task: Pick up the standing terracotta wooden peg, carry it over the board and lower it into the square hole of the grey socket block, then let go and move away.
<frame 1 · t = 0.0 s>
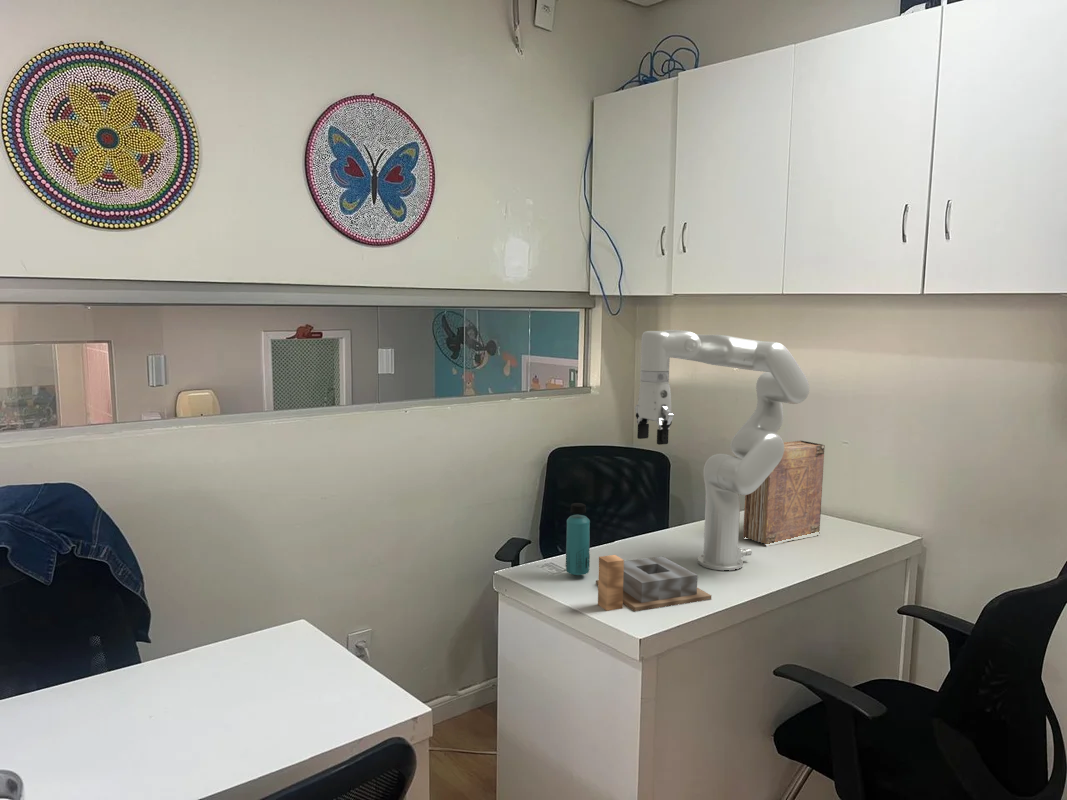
hand: (652, 441, 208), 37 cm above the table, tool pointing down, fingers open, 9 cm apart
book: (781, 538, 249), on the table
peg: (610, 606, 189), on the table
socket board: (652, 591, 199), on the table
beverage bottle: (577, 577, 210), on the table
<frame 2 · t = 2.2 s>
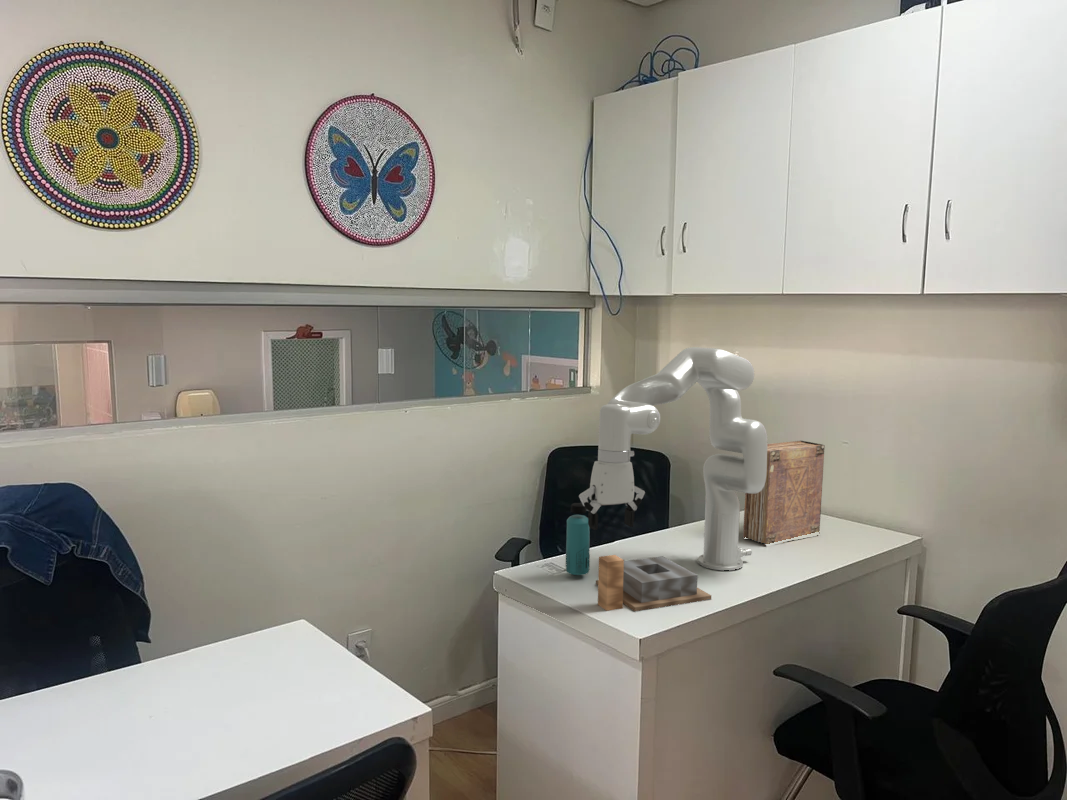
hand: (611, 527, 186), 20 cm above the table, tool pointing down, fingers open, 9 cm apart
nothing on the table moved.
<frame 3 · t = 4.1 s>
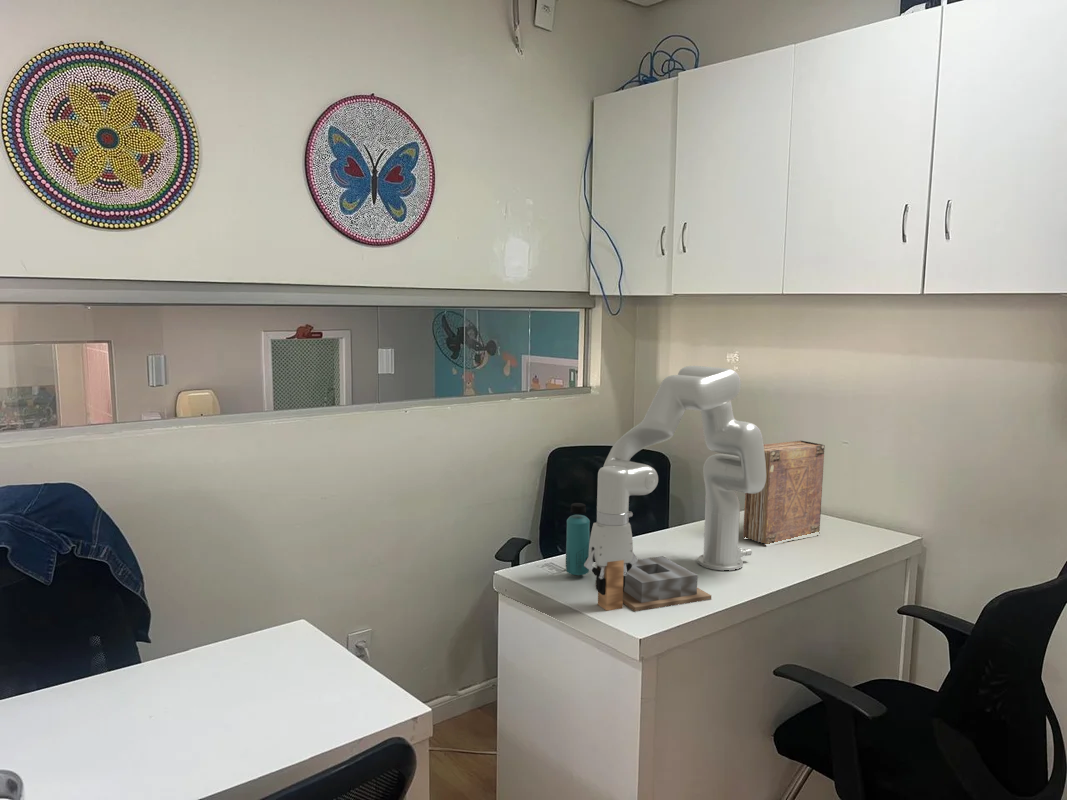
hand: (610, 590, 188), 4 cm above the table, tool pointing down, fingers closed on peg, 4 cm apart
peg: (610, 606, 189), on the table, touching gripper
everything else where it was.
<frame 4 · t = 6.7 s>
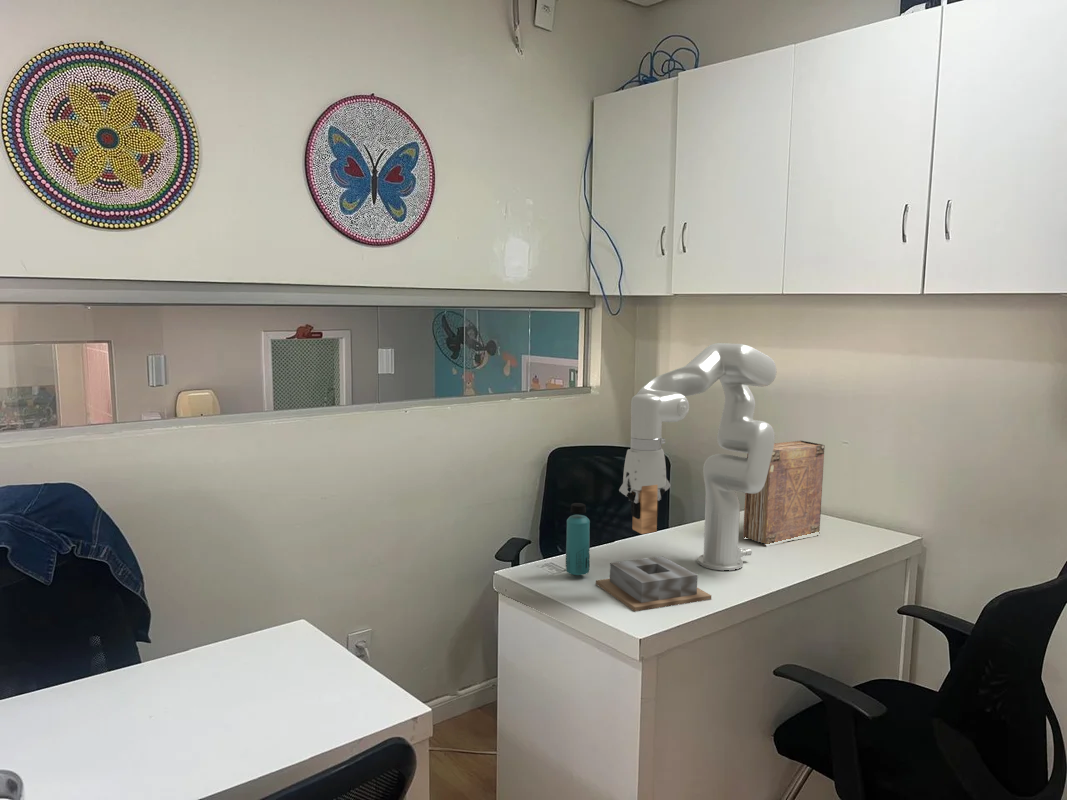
hand: (644, 515, 194), 21 cm above the table, tool pointing down, fingers closed on peg, 4 cm apart
peg: (644, 530, 195), point 17 cm above the table, touching gripper
everything else where it was.
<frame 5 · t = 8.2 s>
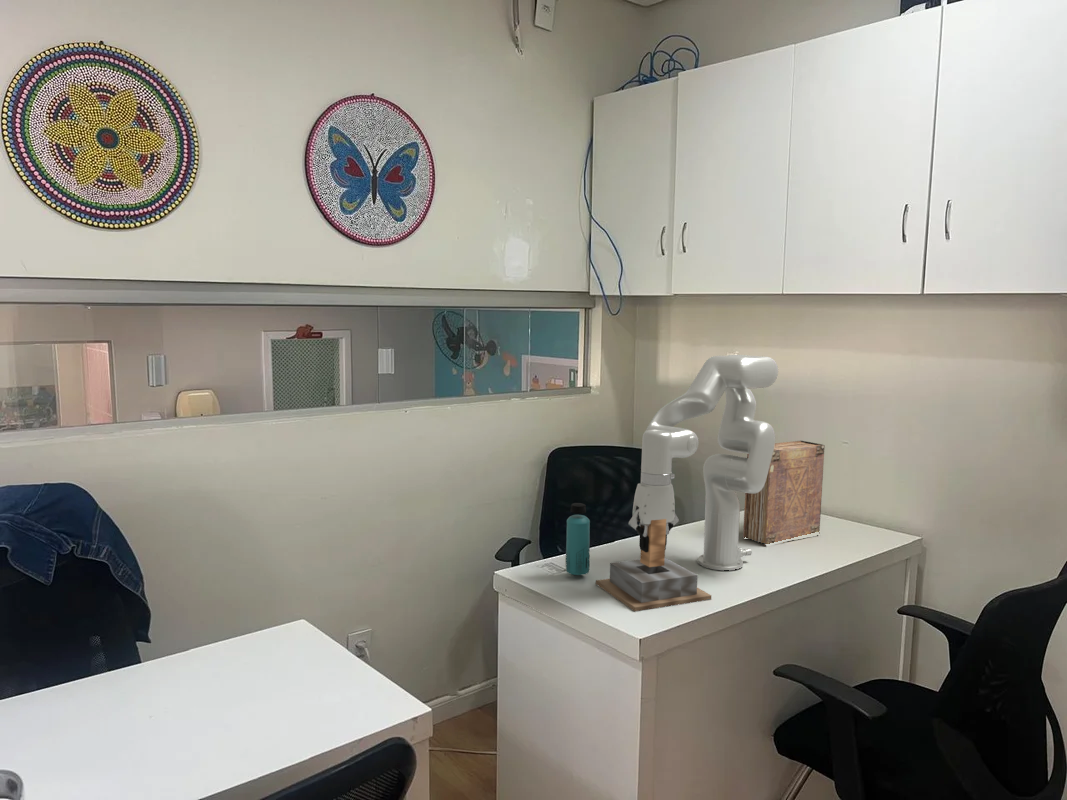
hand: (652, 549, 198), 11 cm above the table, tool pointing down, fingers closed on peg, 4 cm apart
peg: (652, 563, 198), point 7 cm above the table, touching gripper
everything else where it was.
when the fingers open (6 cm above the table, at t = 9.5 s): peg drops 1 cm, resting on socket board.
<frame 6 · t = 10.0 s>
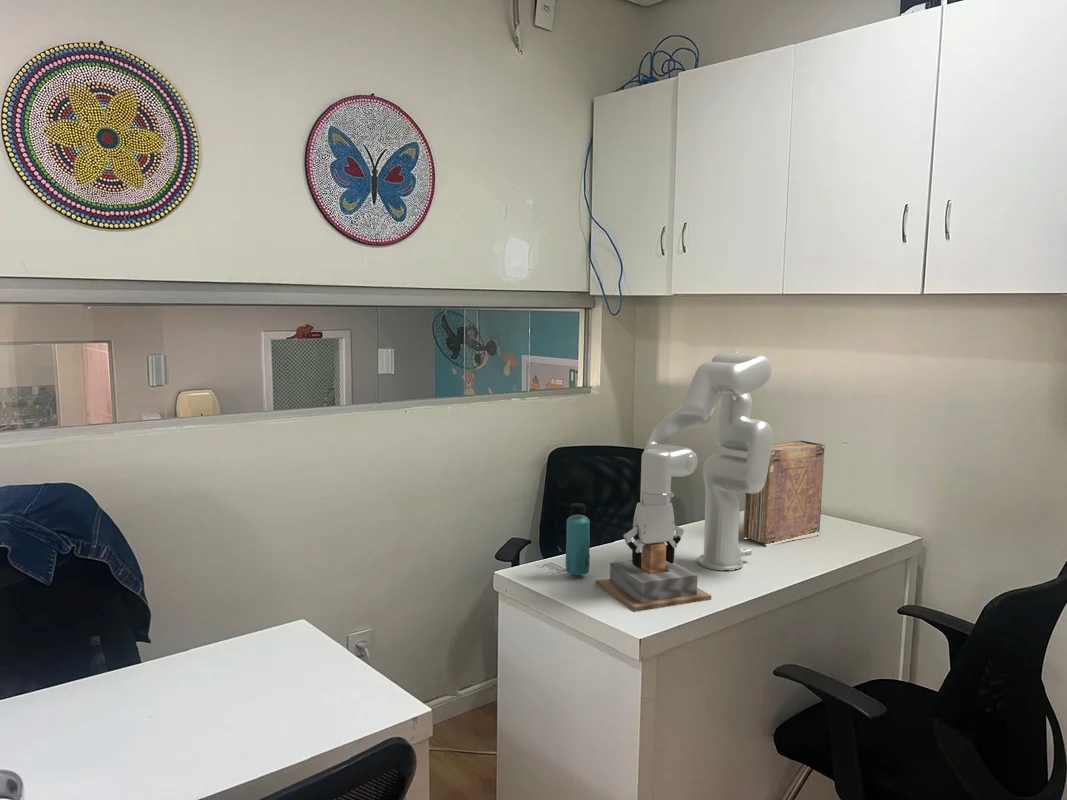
hand: (653, 564, 198), 7 cm above the table, tool pointing down, fingers open, 9 cm apart
peg: (652, 587, 199), point 1 cm above the table, touching socket board
everything else where it was.
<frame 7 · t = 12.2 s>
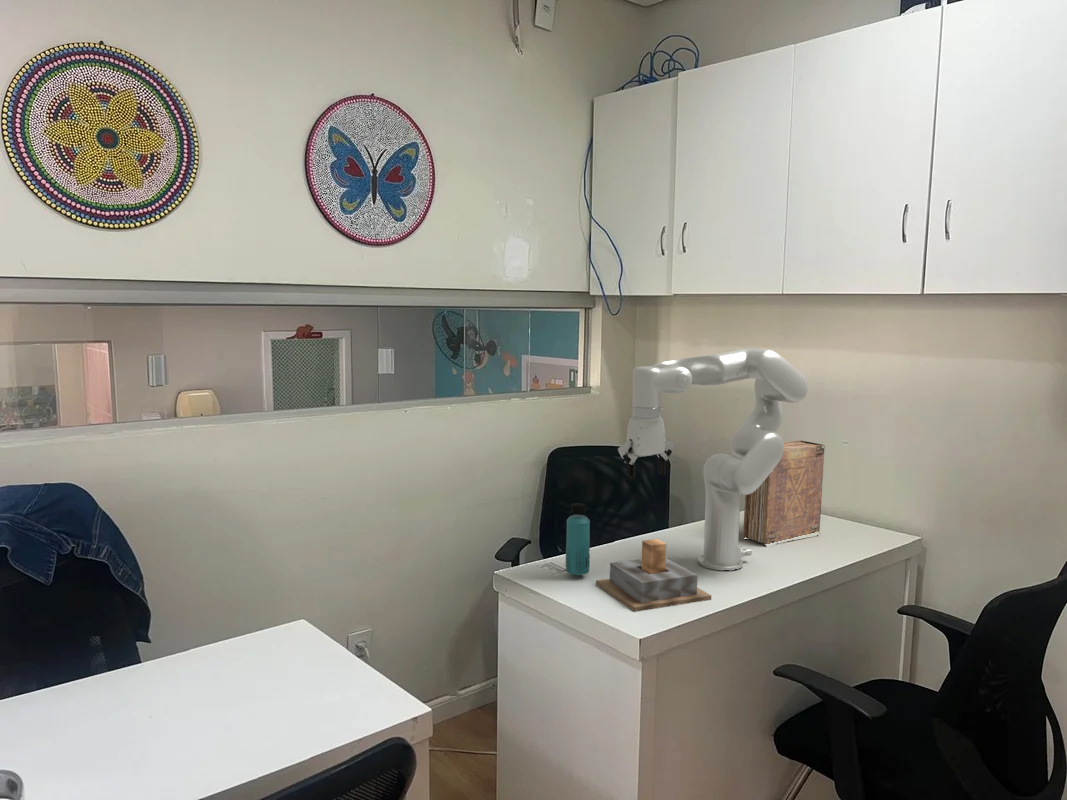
hand: (646, 476, 208), 27 cm above the table, tool pointing down, fingers open, 9 cm apart
nothing on the table moved.
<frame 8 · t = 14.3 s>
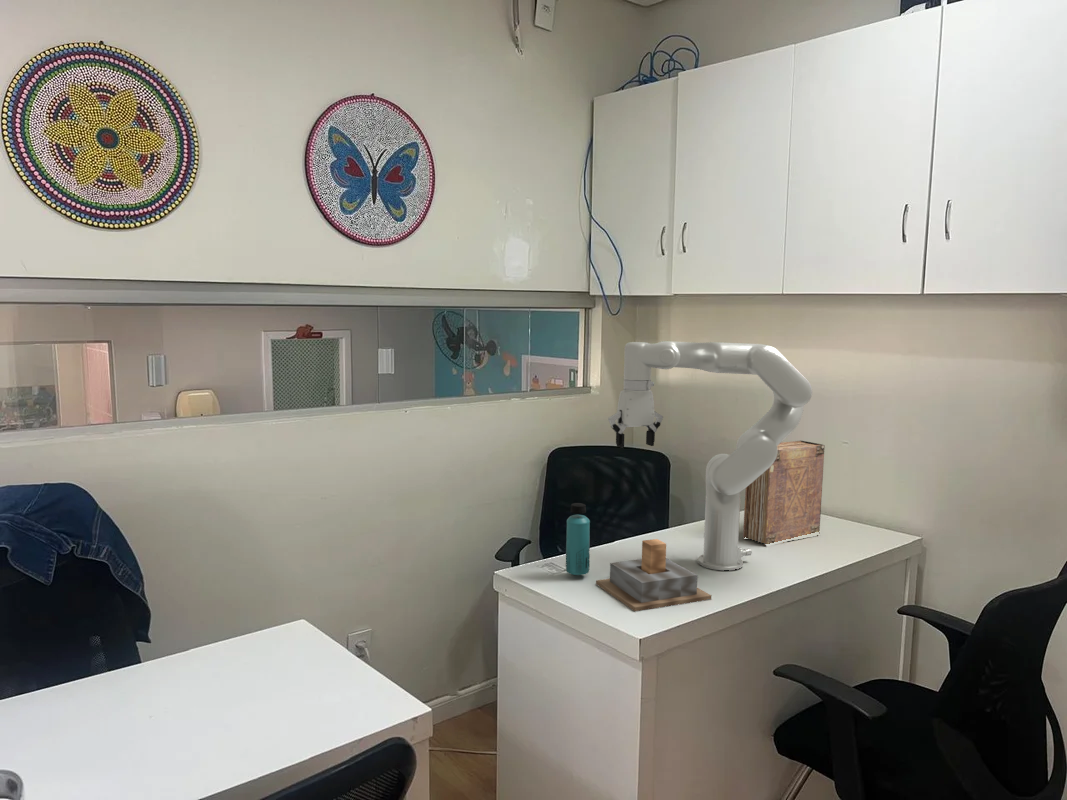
hand: (635, 446, 220), 33 cm above the table, tool pointing down, fingers open, 9 cm apart
nothing on the table moved.
at the end: peg 0.1 cm off-centre on the socket board, point 1.0 cm above the socket board's base; peg tilted 0°; the gripper is holding nothing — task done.
